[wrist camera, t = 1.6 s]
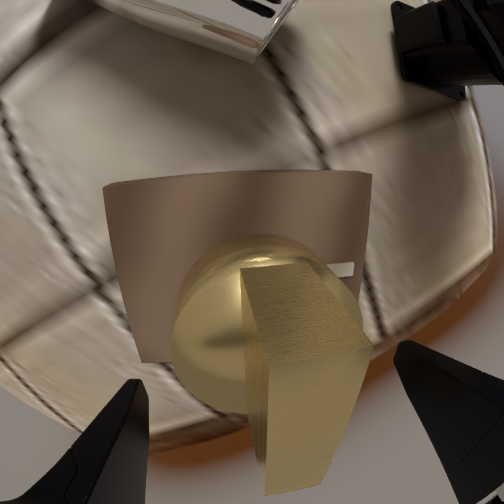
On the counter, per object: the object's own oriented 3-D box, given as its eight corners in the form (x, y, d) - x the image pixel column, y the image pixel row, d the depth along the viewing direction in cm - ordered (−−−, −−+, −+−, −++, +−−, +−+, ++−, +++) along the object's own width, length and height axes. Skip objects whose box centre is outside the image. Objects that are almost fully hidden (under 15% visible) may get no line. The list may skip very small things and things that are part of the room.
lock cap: (165, 240, 11) (122, 375, 4) (339, 228, 12) (458, 319, 5) (192, 389, 14) (198, 509, 7) (320, 372, 15) (371, 475, 8)
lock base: (358, 171, 16) (404, 182, 11) (342, 327, 20) (370, 366, 15) (111, 183, 14) (78, 198, 10) (144, 348, 18) (135, 397, 14)
